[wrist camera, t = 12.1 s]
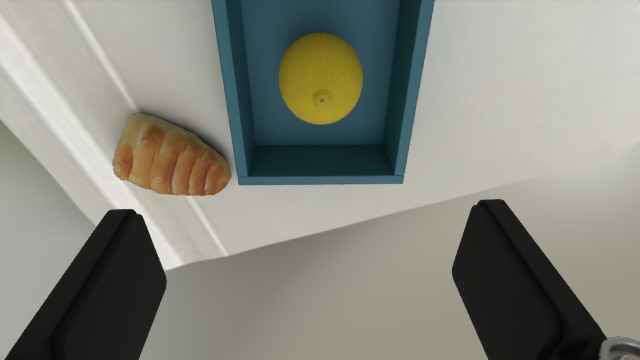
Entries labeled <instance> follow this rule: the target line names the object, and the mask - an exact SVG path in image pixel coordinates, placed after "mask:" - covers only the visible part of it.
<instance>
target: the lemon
mask: <svg viewBox="0 0 640 360" xmlns="http://www.w3.org/2000/svg"><path fill="white" fill-rule="evenodd" d="M362 85H363V72H362V67H361V64H360V61H359V58H358V56H357V55H356V53H355V51H354V50H353V48H352V47H351V46H350V45H349V44H348V43H347V42H346V41H345V40H343V39H341V38H340V37H338V36H336V35H333V34H329V33H325V32H319V33H311V34H308V35H305V36H303V37H301V38H300V39H298V40H296V41H295V42H294V43H293V44H292V45H291V46H290V47H289V48H288V49H287V51H286V53H285V54H284V56H283V58H282V60H281V64H280V68H279V88H280V91H281V95H282V98H283V100H284V101H285V103H286V105H287V106H288V108H289V109H290V110H291V111H292V112H293V113H294V114H295V115H296V116H297V117H299V118H300V119H302V120H304V121H306V122H309V123H312V124H321V125H323V124H330V123H333V122H336V121H338V120H340V119H342V118H343V117H344V116H346V115H347V114H348V113H349V112H350V111H351V110H352V109H353V108H354V106H355V105H356V103H357V101H358V99H359V97H360V93H361V89H362Z"/></svg>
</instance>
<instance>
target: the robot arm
mask: <svg viewBox="0 0 640 360" xmlns="http://www.w3.org/2000/svg"><path fill="white" fill-rule="evenodd" d="M452 276H453V279H454V282H455V284H456V286H457V288H458V291H459V293H460V296H461V298H462V300H463V302H464V305H465V307H466V309H467V311H468V314H469V316H470V319H471V321H472V323H473V325H474V328H475V330H476V332H477V334H478V337H479V339H480V341H481V344H482V346H483V348H484V351H485V353H486V355H487V357H488V360H640V342H639V341H636V340H633V339H631V338H625V337H619V336H618V337H611V338H608V339H607V337H606V336H605V335H604V333H603V332H602V331H601V328H600V327H599V326H598V324H597V323H596V322H595V321H594V319H593V318H592V316H591V315H590V314H589V312H588V311H587V310H586V309H585V307H584V306H583V305H582V303H581V302H580V301H579V299H578V298H577V297H576V295H575V294H574V293H573V291H572V290H571V289H570V287H569V286H568V285H567V283H566V282H565V281H564V279H563V278H562V277H561V275H560V274H559V273H558V271H557V270H556V269H555V267H554V266H553V265H552V263H551V262H550V261H549V259H548V258H547V257H546V256H545V254H544V253H543V252H542V250H541V249H540V247H539V246H538V245H537V244H536V242H535V241H534V240H533V238H532V237H531V236H530V234H529V233H528V232H527V230H526V229H525V228H524V226H523V225H522V224H521V222H520V221H519V220H518V218H517V217H516V216H515V214H514V213H513V212H512V211H511V209H510V208H509V206H508V205H507V204H506V203H505V201H503V200H501V199H494V200H480V201H479V202H478V204H477V205H474V206H473V207H472V208H471V211H470V214H469V217H468V220H467V223H466V227H465V230H464V233H463V236H462V239H461V242H460V245H459V248H458V251H457V254H456V257H455V260H454V264H453V267H452ZM166 283H167V280H166V275H165V273H164V270H163V268H162V265H161V262H160V260H159V257H158V255H157V252H156V250H155V247H154V244H153V242H152V239H151V237H150V234H149V232H148V229H147V226H146V224H145V221H144V219H143V217H142V215H141V214H137V213H136V211H134V210H133V209H117V210H109V211H108V212H107V213H106V214H105V216H104V217H103V219H102V220H101V221H100V223H99V224H98V226H97V227H96V229H95V230H94V231H93V233H92V234H91V236H90V237H89V239H88V240H87V241H86V243H85V244H84V246H83V247H82V249H81V250H80V252H79V253H78V254H77V256H76V257H75V259H74V260H73V262H72V263H71V265H70V266H69V267H68V269H67V270H66V272H65V273H64V274H63V276H62V278H61V279H60V281H59V282H58V283H57V284H56V286H55V288H54V289H53V290H52V292H51V293H50V295H49V296H48V298H47V299H46V300H45V302H44V303H43V305H42V306H41V307H40V309H39V311H38V312H37V313H36V315H35V316H34V317H33V319H32V320H31V322H30V323H29V325H28V326H27V328H26V329H25V330H24V332H23V333H22V335H21V336H20V338H19V339H18V340H17V342H16V343H15V345H14V346H13V348H12V349H11V351H10V352H9V354H8V355H7V357H6V358H5V360H139V357H140V355H141V352H142V349H143V347H144V344H145V341H146V339H147V336H148V334H149V331H150V328H151V326H152V323H153V320H154V318H155V315H156V313H157V310H158V307H159V305H160V302H161V299H162V297H163V294H164V292H165V289H166Z"/></svg>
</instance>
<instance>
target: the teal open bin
mask: <svg viewBox="0 0 640 360" xmlns="http://www.w3.org/2000/svg"><path fill="white" fill-rule="evenodd" d="M434 1H435V0H211V2H212V9H213V16H214V22H215V29H216V36H217V43H218V49H219V56H220V63H221V70H222V76H223V83H224V90H225V97H226V103H227V110H228V117H229V124H230V130H231V137H232V144H233V151H234V157H235V164H236V171H237V176H238V184H239V185H318V184H402V183H403V179H404V173H405V168H406V162H407V156H408V150H409V145H410V139H411V133H412V127H413V122H414V116H415V110H416V104H417V99H418V93H419V87H420V81H421V76H422V70H423V64H424V58H425V53H426V47H427V41H428V35H429V30H430V24H431V18H432V12H433V7H434ZM319 32H325V33H329V34H333V35H336V36H338V37H340V38H341V39H343V40H345V41H346V42H347V43H348V44H349V45H350V46H351V47H352V48H353V50H354V51H355V53H356V55H357V56H358V58H359V61H360V64H361V67H362V72H363V85H362V89H361V93H360V97H359V99H358V101H357V103H356V105H355V106H354V108H353V109H352V110H351V111H350V112H349V113H348V114H347V115H346V116H344V117H343V118H342V119H340V120H338V121H336V122H333V123H330V124H323V125H321V124H312V123H309V122H306V121H304V120H302V119H300V118H299V117H297V116H296V115H295V114H294V113H293V112H292V111H291V110H290V109H289V108H288V106H287V105H286V103H285V101H284V100H283V98H282V95H281V91H280V88H279V68H280V64H281V60H282V58H283V56H284V54H285V53H286V51H287V49H288V48H289V47H290V46H291V45H292V44H293V43H294V42H295V41H296V40H298V39H300V38H301V37H303V36H305V35H308V34H311V33H319Z"/></svg>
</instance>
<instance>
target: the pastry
mask: <svg viewBox="0 0 640 360" xmlns="http://www.w3.org/2000/svg"><path fill="white" fill-rule="evenodd" d="M112 164H113V167H114V168H113V171H114V173H115V175H116V176H117V177H118V178H119V179H121V180H127V181H129V182H131V183H133V184H135V185H137V186H140V187H142V188H145V189H150V190H153V191H155V192H157V193H159V194H171V195H188V196H191V195H192V196H194V195H199V196H204V195H214V194H216V193H218V192H220V191H221V190H222V189H223V188H225V187H226V185H227V184H228V182H229V180H230V178H231V171H230V169H229V166H228V163H227V161H226V160H225V158H224V157H223V156H221V154H219V153H217V152H216V151H215V150H214V149H213V148H212V147H209V146H208V145H207V144H205V143H204V142H203V141H202V140H201V139H200V137H198V136H197V135H196V134H194V133H192V132H188V131H186V130H185V129H183V128H181V127H178V126H176V125H175V124H171V123H168V122H166V121H164V120H163V119H161V118H158V117H156V116H152V115H145V114H140V113H134V114H132V115H130V117H129V118H128V120H127V122H126V123H125V126H124V128H123V131H122V135H121V138H120V140H119V142H118V144H117V148H116V151H115V154H114V158H113V163H112Z"/></svg>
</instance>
